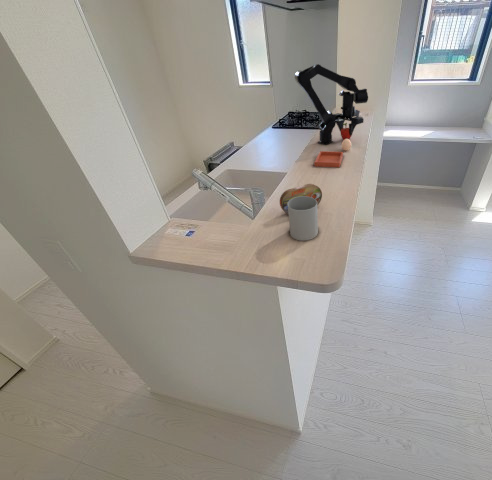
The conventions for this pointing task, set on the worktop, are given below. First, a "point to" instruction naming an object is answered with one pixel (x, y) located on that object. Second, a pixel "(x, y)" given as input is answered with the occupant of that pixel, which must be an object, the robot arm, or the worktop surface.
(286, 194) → the tin
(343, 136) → the apple
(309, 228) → the cup
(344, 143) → the egg
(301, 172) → the worktop surface
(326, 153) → the tray
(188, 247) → the worktop surface
